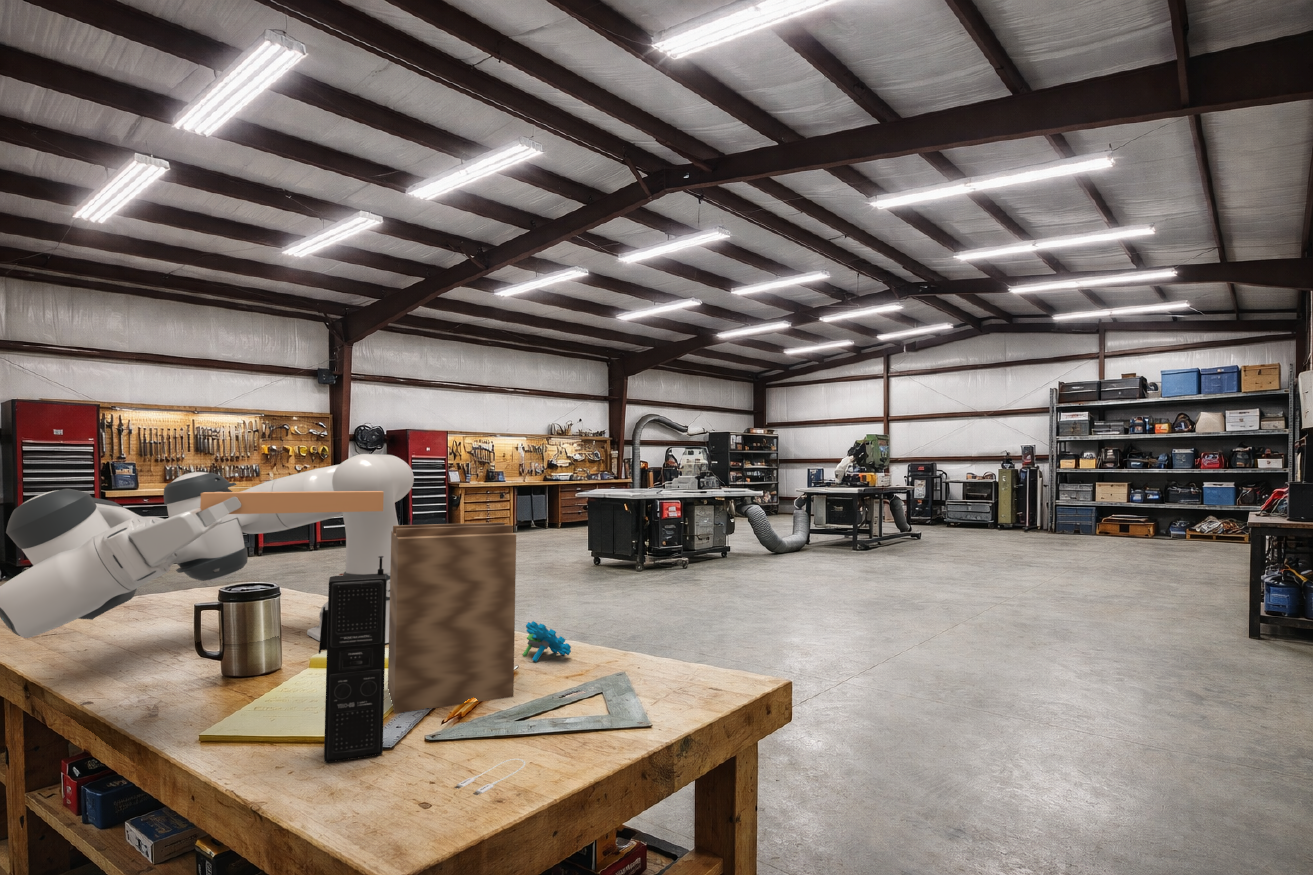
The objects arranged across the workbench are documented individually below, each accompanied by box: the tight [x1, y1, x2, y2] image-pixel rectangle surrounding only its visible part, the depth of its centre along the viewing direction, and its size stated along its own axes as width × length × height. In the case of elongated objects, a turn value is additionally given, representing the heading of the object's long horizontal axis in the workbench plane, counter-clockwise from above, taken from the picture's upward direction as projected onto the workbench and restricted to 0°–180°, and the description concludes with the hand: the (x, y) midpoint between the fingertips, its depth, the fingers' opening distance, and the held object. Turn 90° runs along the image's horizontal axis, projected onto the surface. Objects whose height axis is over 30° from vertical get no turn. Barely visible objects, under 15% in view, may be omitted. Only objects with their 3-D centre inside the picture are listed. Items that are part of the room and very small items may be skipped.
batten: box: [200, 491, 384, 514], centre depth 103 cm, size 24×3×3 cm, turn 116°
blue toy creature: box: [522, 620, 572, 663], centre depth 132 cm, size 11×6×10 cm
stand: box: [387, 521, 517, 714], centre depth 113 cm, size 18×12×27 cm, turn 116°
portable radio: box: [318, 556, 387, 764], centre depth 90 cm, size 8×6×25 cm
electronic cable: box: [453, 758, 527, 796], centre depth 83 cm, size 4×10×1 cm, turn 150°
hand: (241, 499), depth 100 cm, fingers closed on batten, 3 cm apart
